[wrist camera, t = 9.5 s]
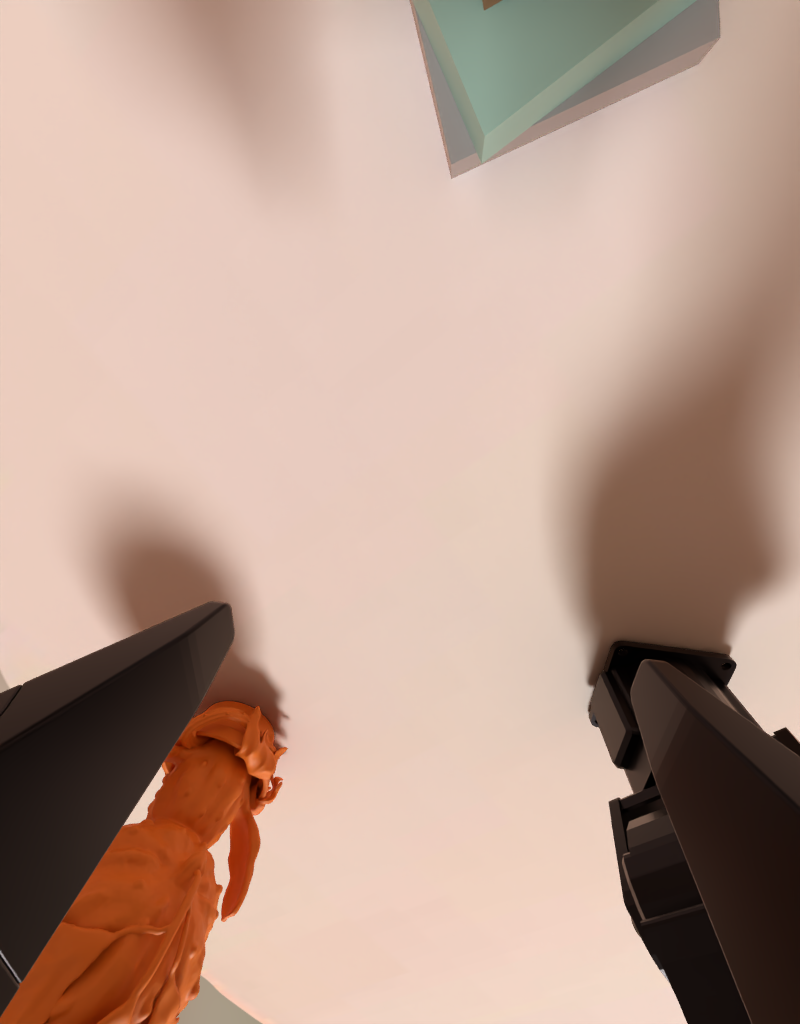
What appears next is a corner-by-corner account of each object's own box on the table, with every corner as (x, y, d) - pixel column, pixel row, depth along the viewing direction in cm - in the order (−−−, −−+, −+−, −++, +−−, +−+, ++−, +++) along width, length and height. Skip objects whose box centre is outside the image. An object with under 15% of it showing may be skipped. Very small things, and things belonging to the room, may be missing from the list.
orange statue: (144, 707, 31) (-221, 1114, 14) (233, 653, 27) (-113, 1110, 11) (240, 792, 33) (24, 1225, 17) (333, 753, 30) (177, 1251, 13)
